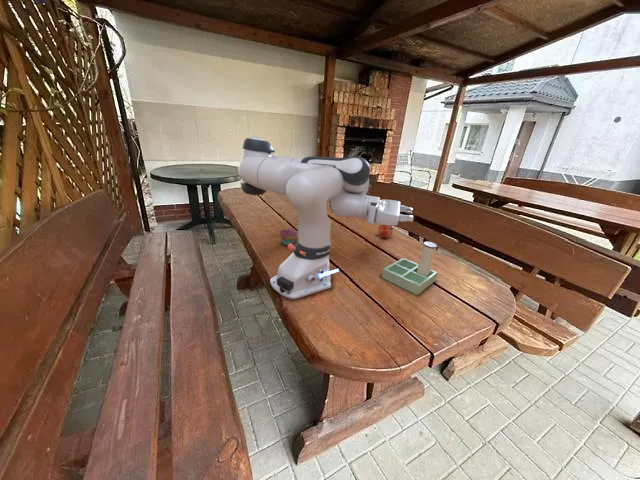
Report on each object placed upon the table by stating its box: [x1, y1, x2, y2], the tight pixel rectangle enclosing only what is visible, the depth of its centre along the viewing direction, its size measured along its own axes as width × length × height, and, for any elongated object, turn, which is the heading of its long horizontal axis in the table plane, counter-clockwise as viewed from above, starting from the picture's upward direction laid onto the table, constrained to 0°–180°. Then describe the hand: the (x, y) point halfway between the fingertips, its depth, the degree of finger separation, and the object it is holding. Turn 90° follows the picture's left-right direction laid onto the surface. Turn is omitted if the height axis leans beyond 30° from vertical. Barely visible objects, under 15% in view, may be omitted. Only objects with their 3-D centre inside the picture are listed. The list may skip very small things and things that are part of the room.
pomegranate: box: [376, 225, 394, 239], centre depth 134 cm, size 7×7×10 cm
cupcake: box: [278, 220, 298, 246], centre depth 119 cm, size 9×8×12 cm
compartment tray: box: [381, 257, 438, 296], centre depth 98 cm, size 14×14×4 cm
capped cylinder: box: [416, 241, 438, 278], centre depth 96 cm, size 5×5×14 cm
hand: (412, 214), depth 91 cm, fingers open, 8 cm apart
